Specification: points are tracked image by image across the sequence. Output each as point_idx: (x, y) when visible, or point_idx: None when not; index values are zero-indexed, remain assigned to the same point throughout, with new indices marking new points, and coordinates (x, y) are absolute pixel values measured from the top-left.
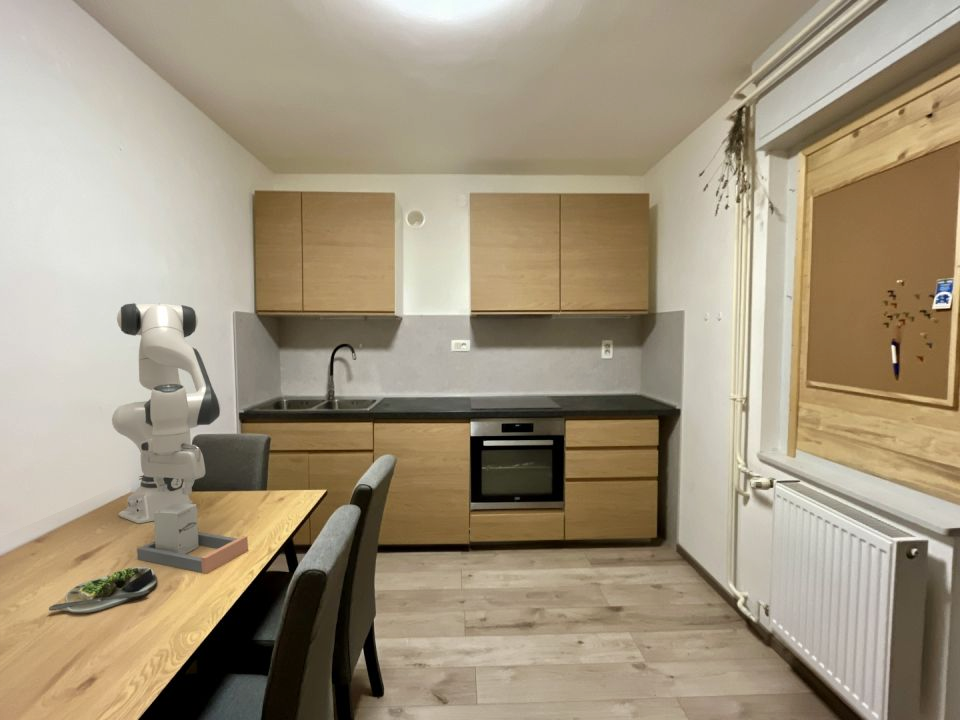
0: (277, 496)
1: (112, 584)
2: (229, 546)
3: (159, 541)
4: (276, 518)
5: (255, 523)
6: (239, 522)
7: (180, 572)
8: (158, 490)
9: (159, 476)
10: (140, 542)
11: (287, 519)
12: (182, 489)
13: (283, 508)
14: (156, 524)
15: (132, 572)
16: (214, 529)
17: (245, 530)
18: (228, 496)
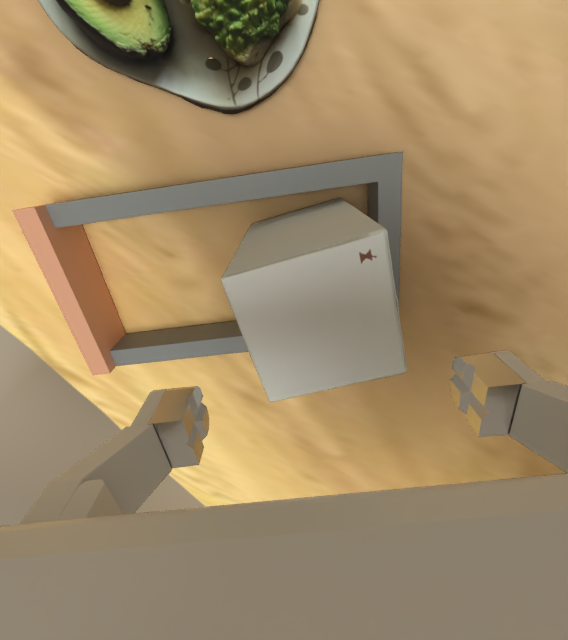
0: None
1: None
2: (61, 309)
3: (327, 210)
4: (255, 487)
5: (278, 453)
6: (329, 443)
7: (137, 167)
8: (500, 355)
9: (556, 477)
10: (521, 242)
11: (221, 491)
12: (177, 415)
13: None
14: (351, 219)
15: (211, 16)
16: (356, 393)
17: (259, 420)
18: None
